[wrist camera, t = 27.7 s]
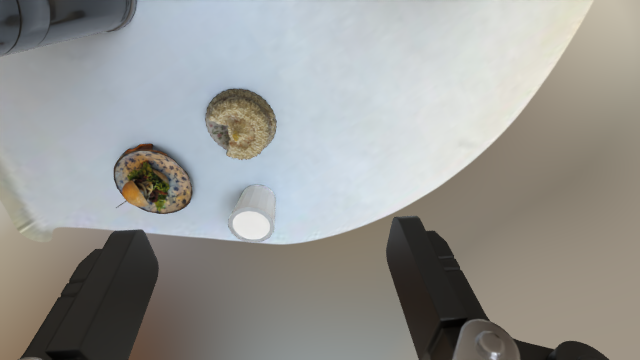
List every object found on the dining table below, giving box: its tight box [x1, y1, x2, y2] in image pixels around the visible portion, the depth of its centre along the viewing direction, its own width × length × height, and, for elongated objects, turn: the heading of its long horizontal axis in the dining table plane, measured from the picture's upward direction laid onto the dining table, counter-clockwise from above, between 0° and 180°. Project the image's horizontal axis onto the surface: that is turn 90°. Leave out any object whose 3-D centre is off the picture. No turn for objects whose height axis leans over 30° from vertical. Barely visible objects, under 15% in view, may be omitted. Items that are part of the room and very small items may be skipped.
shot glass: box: [228, 184, 276, 243], centre depth 50 cm, size 7×7×7 cm
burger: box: [114, 144, 192, 214], centre depth 47 cm, size 12×12×8 cm
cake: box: [205, 89, 276, 160], centre depth 44 cm, size 10×10×5 cm
